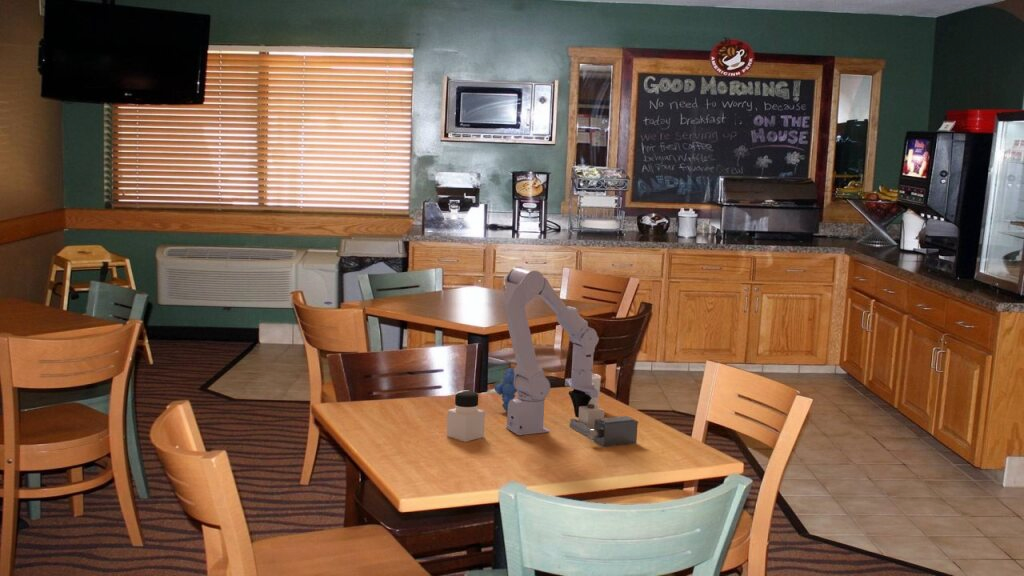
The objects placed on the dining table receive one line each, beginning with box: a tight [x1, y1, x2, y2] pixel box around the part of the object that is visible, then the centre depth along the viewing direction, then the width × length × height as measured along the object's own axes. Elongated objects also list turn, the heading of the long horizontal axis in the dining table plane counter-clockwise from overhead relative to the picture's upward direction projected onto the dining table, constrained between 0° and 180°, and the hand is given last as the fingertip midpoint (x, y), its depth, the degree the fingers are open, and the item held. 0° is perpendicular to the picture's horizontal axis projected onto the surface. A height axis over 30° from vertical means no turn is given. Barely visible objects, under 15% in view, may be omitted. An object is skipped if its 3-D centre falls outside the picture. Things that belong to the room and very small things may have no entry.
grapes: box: [494, 367, 518, 412], centre depth 280 cm, size 12×7×12 cm, turn 175°
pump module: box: [577, 404, 605, 429], centre depth 263 cm, size 5×5×6 cm
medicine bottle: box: [446, 389, 486, 443], centre depth 252 cm, size 7×7×12 cm
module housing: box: [569, 415, 639, 448], centre depth 258 cm, size 13×19×6 cm
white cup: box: [589, 372, 602, 407], centre depth 285 cm, size 8×8×10 cm
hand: (579, 416), depth 269 cm, fingers closed
